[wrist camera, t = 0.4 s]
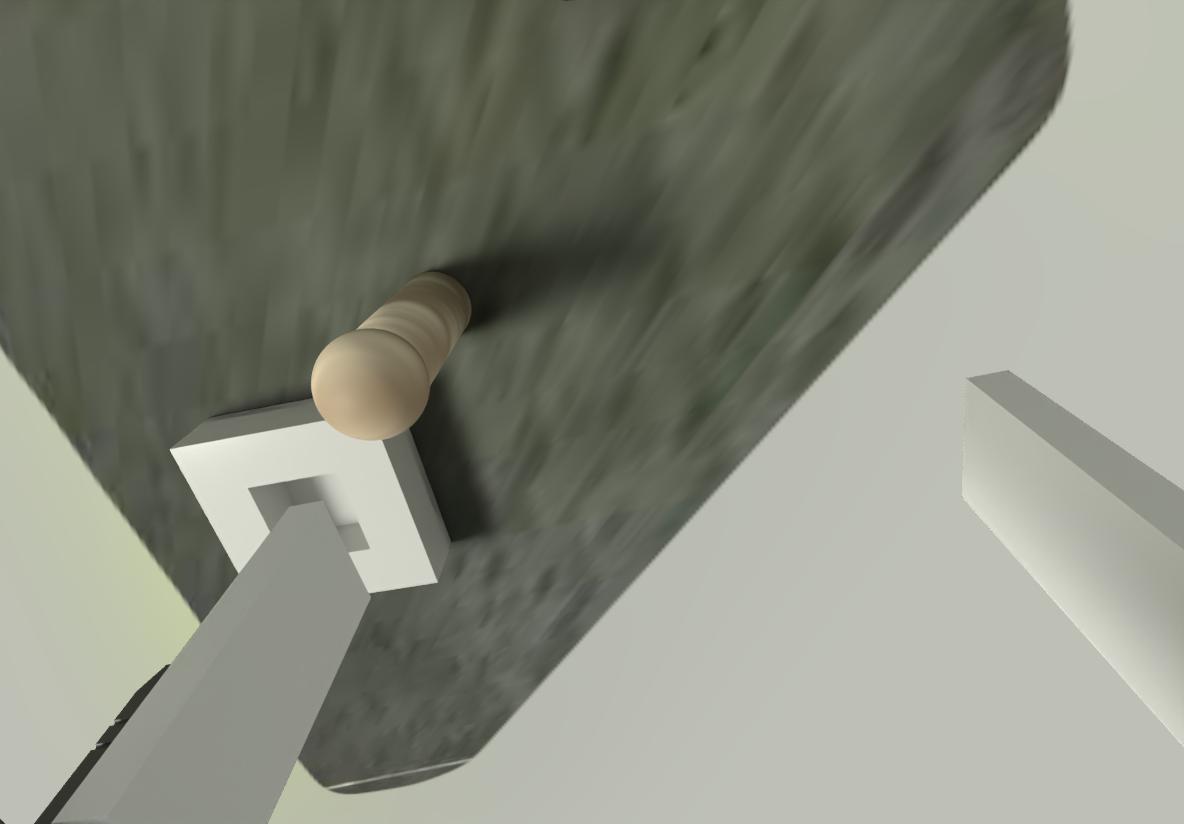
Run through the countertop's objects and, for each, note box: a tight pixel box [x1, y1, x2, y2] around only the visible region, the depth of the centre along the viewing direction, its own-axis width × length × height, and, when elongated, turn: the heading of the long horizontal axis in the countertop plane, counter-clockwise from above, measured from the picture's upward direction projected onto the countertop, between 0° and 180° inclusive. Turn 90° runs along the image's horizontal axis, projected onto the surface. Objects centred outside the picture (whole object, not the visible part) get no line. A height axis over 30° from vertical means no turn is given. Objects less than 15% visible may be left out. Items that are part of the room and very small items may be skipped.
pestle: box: [311, 272, 471, 441], centre depth 30 cm, size 5×5×14 cm
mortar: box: [170, 398, 451, 593], centre depth 40 cm, size 12×12×4 cm
